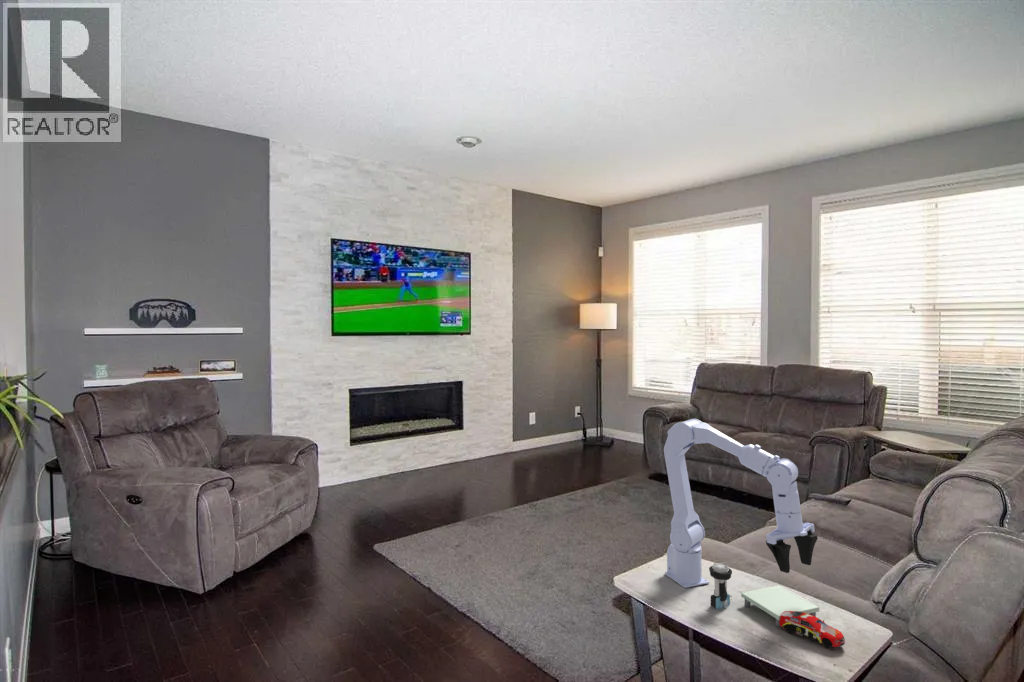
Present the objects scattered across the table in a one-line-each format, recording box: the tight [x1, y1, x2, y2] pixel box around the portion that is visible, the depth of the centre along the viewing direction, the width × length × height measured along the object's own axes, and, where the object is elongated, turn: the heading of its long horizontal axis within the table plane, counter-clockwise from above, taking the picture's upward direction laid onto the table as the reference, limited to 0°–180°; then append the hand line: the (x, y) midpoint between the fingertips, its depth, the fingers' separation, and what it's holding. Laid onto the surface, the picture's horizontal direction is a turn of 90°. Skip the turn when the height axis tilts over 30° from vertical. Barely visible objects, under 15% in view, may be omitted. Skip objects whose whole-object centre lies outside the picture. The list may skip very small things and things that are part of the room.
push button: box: [708, 562, 733, 610], centre depth 135 cm, size 7×5×10 cm
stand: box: [740, 584, 820, 629], centre depth 132 cm, size 12×12×3 cm
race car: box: [779, 611, 846, 649], centre depth 121 cm, size 13×5×4 cm, turn 37°
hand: (795, 567), depth 131 cm, fingers open, 7 cm apart
